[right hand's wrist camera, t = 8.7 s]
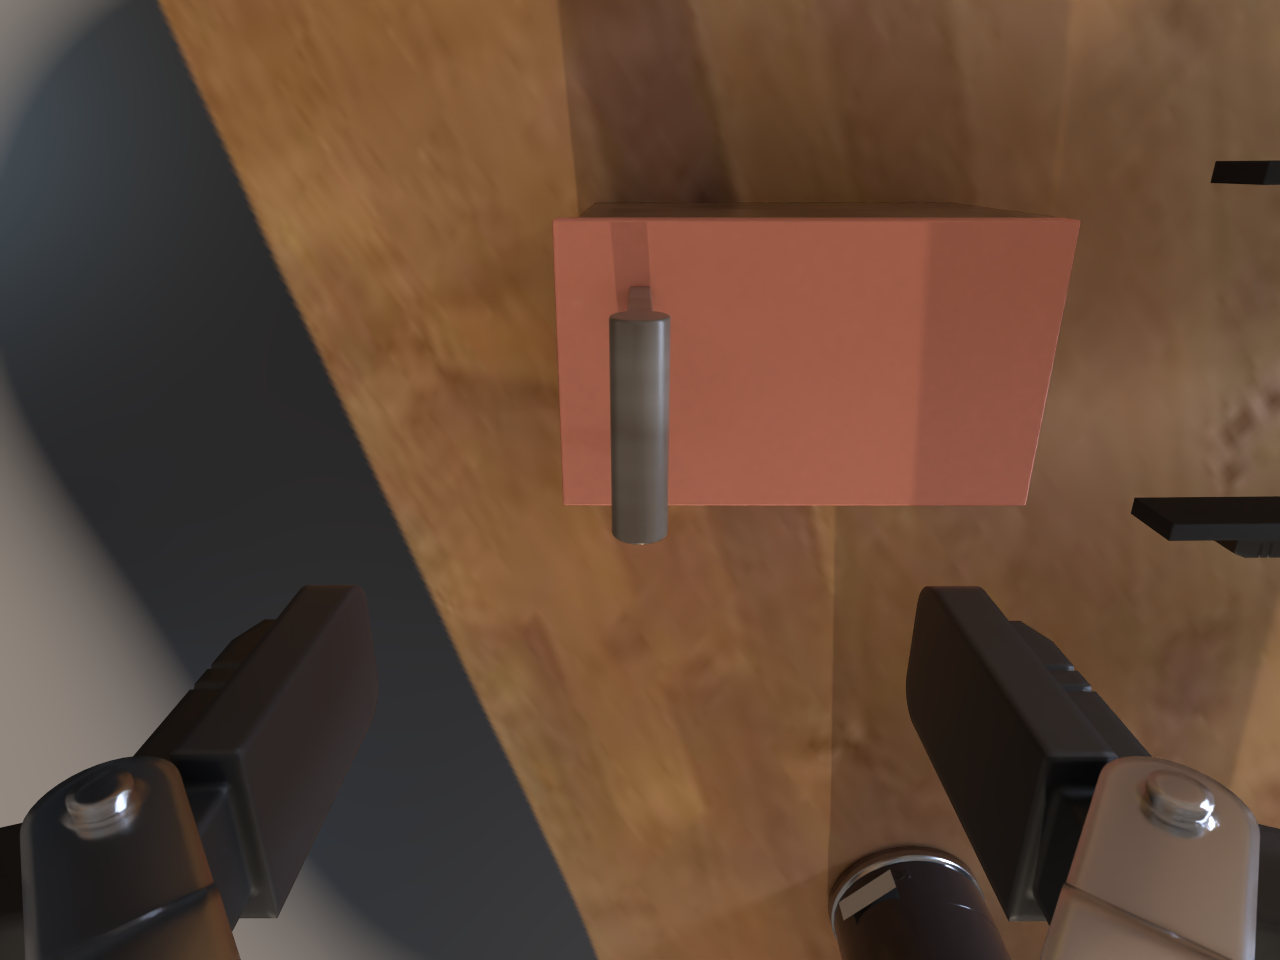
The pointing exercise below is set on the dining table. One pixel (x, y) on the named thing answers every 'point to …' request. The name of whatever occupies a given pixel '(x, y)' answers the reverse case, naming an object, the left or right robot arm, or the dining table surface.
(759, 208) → the chest
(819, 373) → the lid
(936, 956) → the right robot arm
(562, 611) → the dining table surface
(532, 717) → the dining table surface
